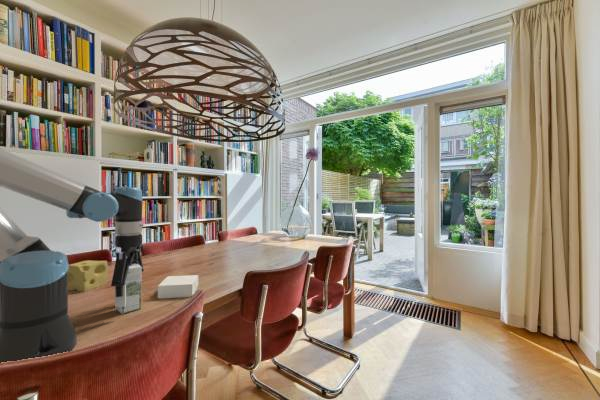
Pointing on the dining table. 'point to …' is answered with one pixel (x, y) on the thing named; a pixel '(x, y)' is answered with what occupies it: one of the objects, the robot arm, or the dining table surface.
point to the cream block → (178, 286)
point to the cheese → (87, 275)
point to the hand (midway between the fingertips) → (128, 298)
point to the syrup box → (132, 289)
